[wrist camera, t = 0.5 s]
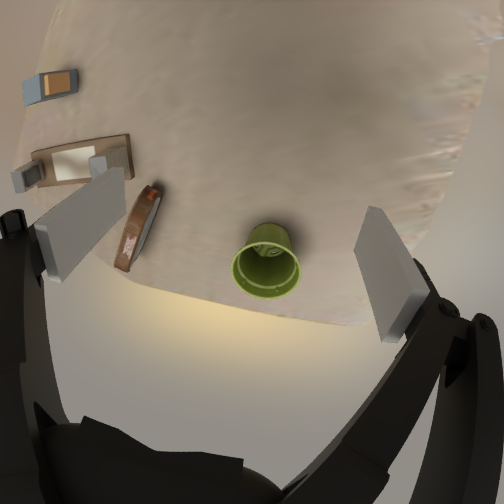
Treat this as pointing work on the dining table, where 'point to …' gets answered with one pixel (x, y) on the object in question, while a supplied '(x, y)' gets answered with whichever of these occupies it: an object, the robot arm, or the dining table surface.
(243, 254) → the plant pot
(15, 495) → the robot arm
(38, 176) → the far end finger
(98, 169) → the near end finger
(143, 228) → the tin
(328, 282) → the dining table surface
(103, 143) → the brown flat board
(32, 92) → the block
